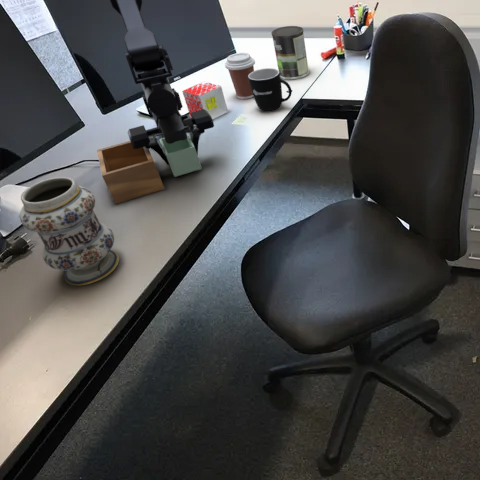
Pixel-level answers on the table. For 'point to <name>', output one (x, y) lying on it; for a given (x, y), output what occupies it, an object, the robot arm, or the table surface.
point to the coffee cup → (241, 73)
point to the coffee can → (290, 52)
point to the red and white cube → (206, 99)
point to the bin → (181, 156)
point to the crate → (128, 171)
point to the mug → (267, 89)
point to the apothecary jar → (69, 230)
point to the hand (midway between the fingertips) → (182, 160)
